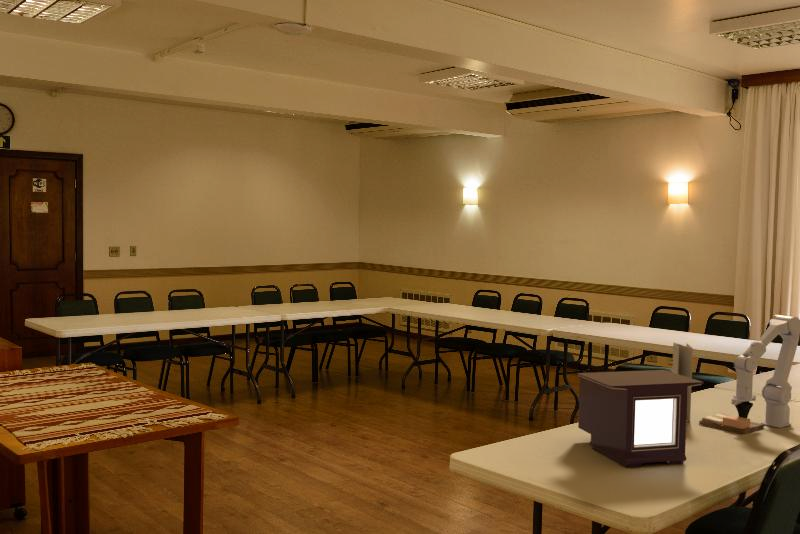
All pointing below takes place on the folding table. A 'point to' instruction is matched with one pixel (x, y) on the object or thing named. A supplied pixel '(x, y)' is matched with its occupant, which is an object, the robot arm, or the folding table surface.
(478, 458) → the folding table surface
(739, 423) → the orange rectangular block
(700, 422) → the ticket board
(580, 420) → the brown box television
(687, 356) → the brochure
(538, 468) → the folding table surface
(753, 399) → the robot arm
